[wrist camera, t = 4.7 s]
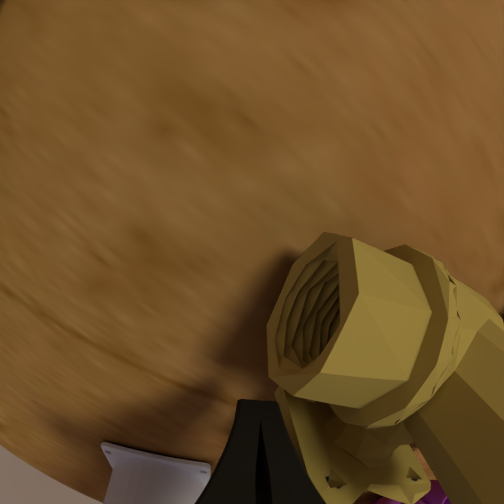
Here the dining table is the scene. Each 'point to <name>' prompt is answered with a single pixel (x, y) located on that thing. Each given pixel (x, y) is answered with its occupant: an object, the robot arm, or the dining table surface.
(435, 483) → the purple tube coral
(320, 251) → the ball valve
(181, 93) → the dining table surface
